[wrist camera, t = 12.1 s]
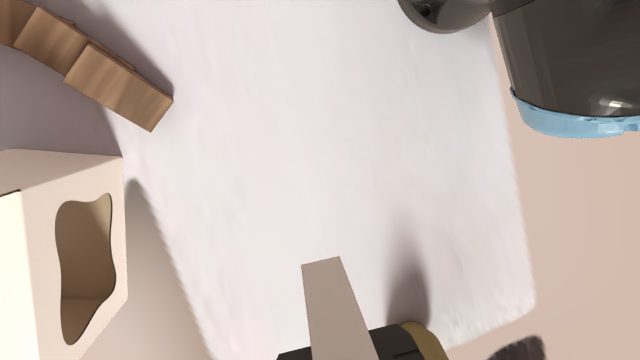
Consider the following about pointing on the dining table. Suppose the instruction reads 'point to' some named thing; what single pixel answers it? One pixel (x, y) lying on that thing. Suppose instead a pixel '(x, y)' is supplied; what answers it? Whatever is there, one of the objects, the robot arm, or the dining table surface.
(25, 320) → the gable box
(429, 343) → the squeeze bottle
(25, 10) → the domino
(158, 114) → the domino
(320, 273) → the robot arm
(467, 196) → the dining table surface
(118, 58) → the domino
